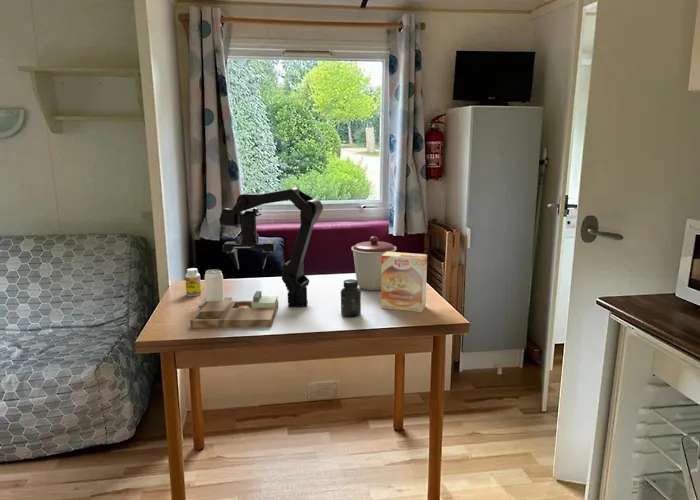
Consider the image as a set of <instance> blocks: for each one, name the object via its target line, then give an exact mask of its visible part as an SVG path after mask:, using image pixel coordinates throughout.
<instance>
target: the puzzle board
mask: <svg viewBox="0 0 700 500" xmlns="http://www.w3.org/2000/svg"><path fill="white" fill-rule="evenodd" d="M252 301H253V300H231V301H206V302H205V303H204V304H203V305H202V307H199V309H198V310H197V311H196V312H195V314H194V315H193V316H192V317H191V319H190V320H189V325H190V326H189V327H190V329H199V328H200V329H202V328H203V329H207V328H213V329H214V328H271V327H272V326H273V323H274V321H275V317H276V315H277V312H278V309H279V300H278V301H277V304H276V306H275V308H252V307H251V303H252ZM240 306H250V308H238V307H240Z"/></svg>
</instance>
